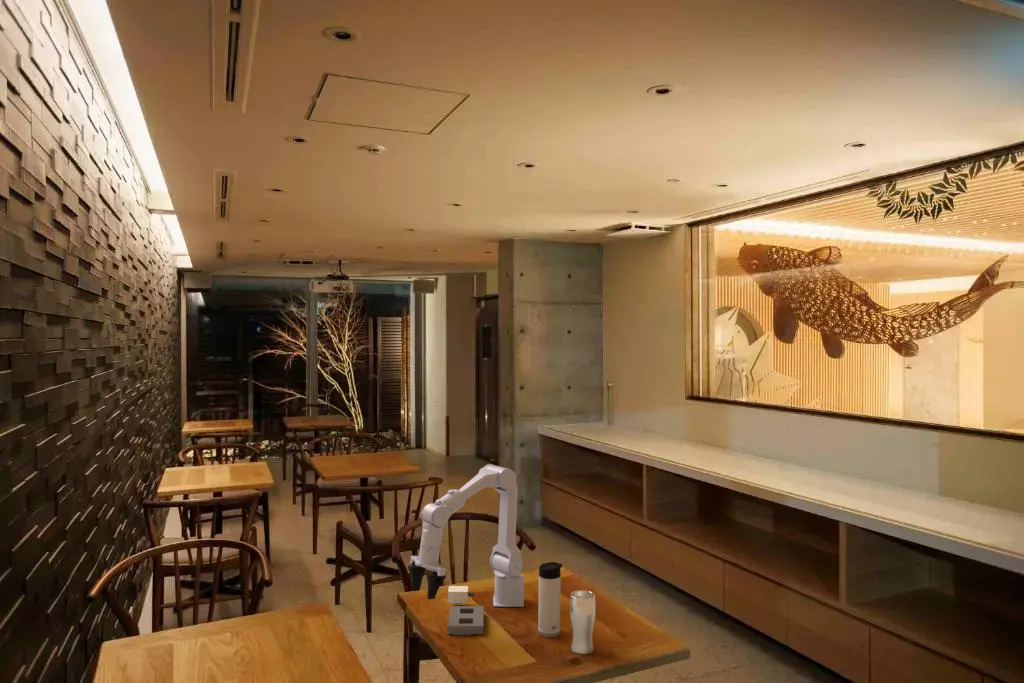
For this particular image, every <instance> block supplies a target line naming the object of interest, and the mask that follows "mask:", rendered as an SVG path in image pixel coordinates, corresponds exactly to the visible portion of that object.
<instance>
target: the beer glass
mask: <svg viewBox="0 0 1024 683" xmlns="http://www.w3.org/2000/svg"><path fill="white" fill-rule="evenodd" d="M596 608H597V607H596V594H595V593H594V592H593V591H589V590H583V589H582V590H581V589H579V590H574V591H572V592H571V593H570V601H569V618H570V624H571V632H572V640H571V645H570V650H571V651H572V652H573V653H575V654H579V655H588V653H589V654H591V653H592V652H593V651H594V644H593V632H594V627H595V626H594V625H595V619H596V611H597V610H596Z"/></svg>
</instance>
